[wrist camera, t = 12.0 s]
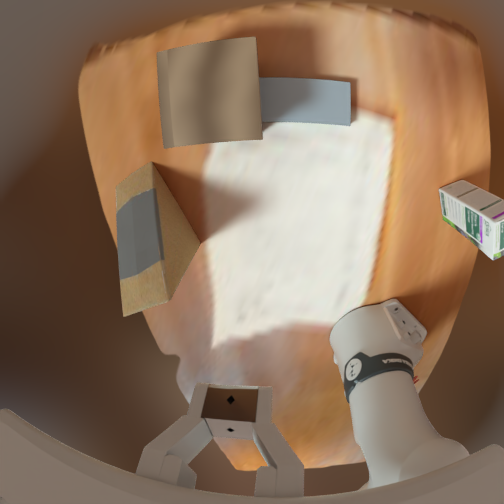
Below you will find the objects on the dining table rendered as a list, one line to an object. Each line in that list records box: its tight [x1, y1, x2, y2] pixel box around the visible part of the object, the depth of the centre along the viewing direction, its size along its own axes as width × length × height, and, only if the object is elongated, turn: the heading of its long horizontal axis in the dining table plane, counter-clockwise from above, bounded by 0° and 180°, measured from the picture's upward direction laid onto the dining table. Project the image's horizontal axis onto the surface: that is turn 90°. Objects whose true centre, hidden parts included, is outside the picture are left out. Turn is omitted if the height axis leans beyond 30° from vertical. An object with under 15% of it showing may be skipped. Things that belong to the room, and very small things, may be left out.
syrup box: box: [439, 180, 504, 260], centre depth 28 cm, size 6×6×14 cm
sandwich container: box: [116, 162, 200, 317], centre depth 34 cm, size 9×15×15 cm, turn 27°
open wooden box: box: [157, 37, 263, 149], centre depth 27 cm, size 10×11×10 cm
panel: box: [259, 77, 351, 126], centre depth 31 cm, size 20×6×2 cm, turn 91°
